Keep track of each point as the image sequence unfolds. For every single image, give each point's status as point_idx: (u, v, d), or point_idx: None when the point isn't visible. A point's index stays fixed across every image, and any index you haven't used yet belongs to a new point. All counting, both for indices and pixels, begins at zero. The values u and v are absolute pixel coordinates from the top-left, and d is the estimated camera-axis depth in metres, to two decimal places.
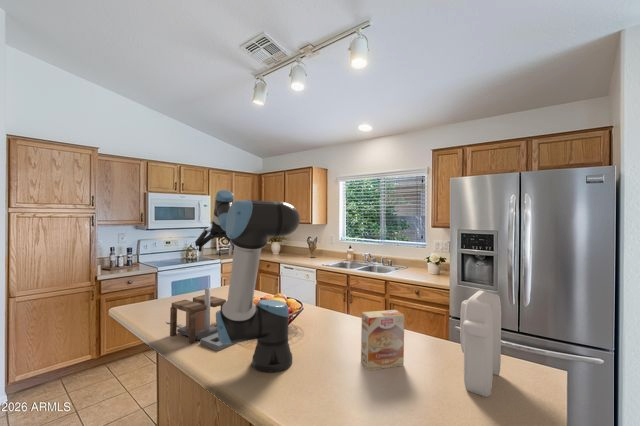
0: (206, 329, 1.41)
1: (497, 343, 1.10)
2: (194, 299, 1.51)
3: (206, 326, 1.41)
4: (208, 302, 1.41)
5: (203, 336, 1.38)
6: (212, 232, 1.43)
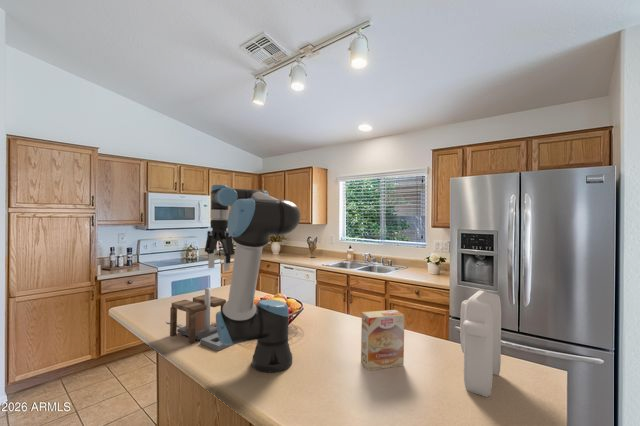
0: (206, 329, 1.41)
1: (497, 343, 1.10)
2: (194, 299, 1.51)
3: (206, 326, 1.41)
4: (208, 302, 1.41)
5: (203, 336, 1.38)
6: (212, 232, 1.39)
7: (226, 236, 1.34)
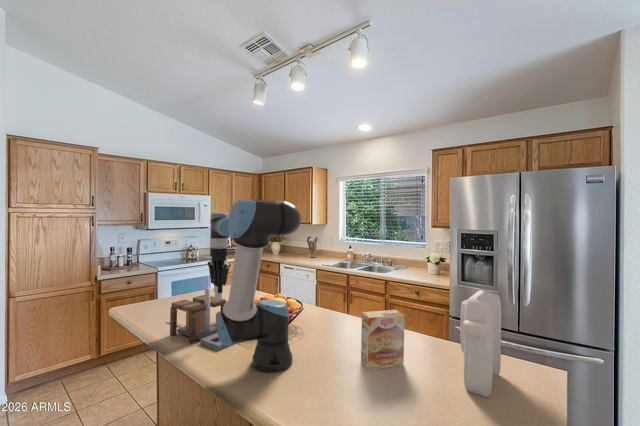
0: (206, 329, 1.41)
1: (497, 343, 1.10)
2: (194, 299, 1.51)
3: (206, 326, 1.41)
4: (208, 302, 1.41)
5: (203, 336, 1.38)
6: (212, 260, 1.39)
7: (224, 268, 1.34)
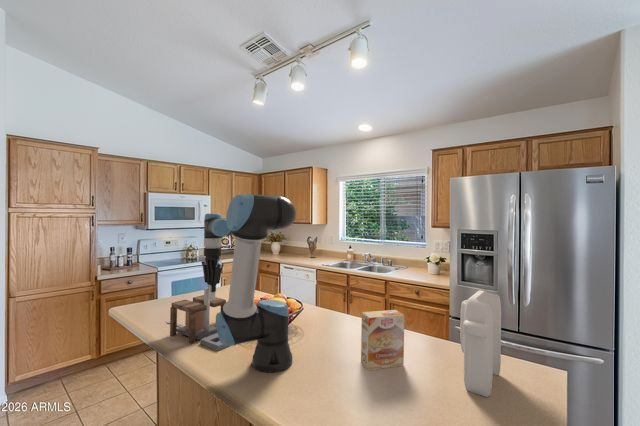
0: (205, 329, 1.41)
1: (497, 343, 1.10)
2: (194, 299, 1.51)
3: (205, 326, 1.41)
4: (207, 302, 1.41)
5: (202, 336, 1.38)
6: (205, 259, 1.41)
7: (217, 267, 1.37)
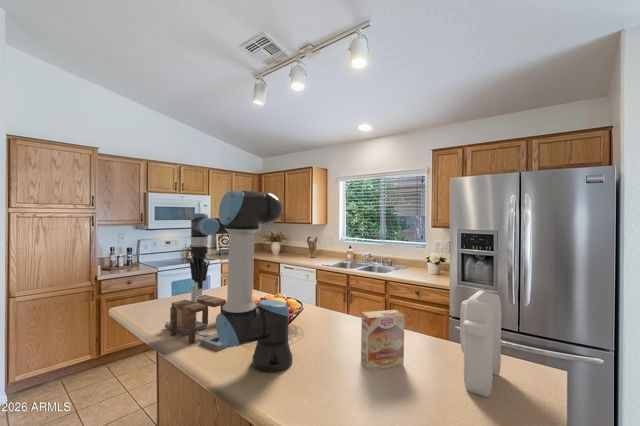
0: None
1: (497, 343, 1.10)
2: None
3: None
4: (194, 298, 1.47)
5: None
6: (193, 257, 1.47)
7: (203, 265, 1.42)
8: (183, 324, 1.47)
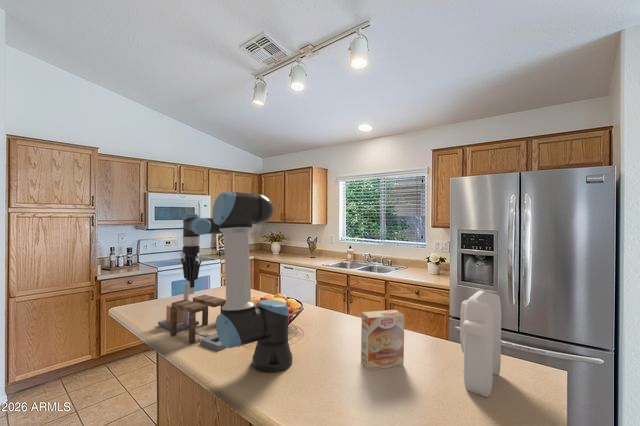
0: (185, 322, 1.50)
1: (497, 343, 1.10)
2: (194, 299, 1.51)
3: (185, 319, 1.50)
4: (187, 296, 1.50)
5: (181, 328, 1.47)
6: (185, 257, 1.50)
7: (195, 264, 1.46)
8: None
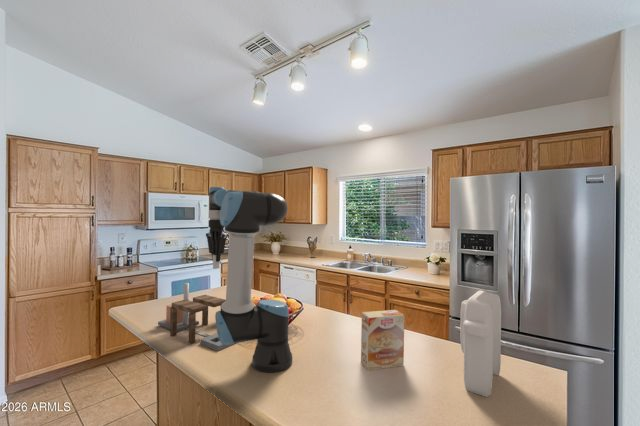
0: (185, 322, 1.50)
1: (497, 343, 1.10)
2: (194, 299, 1.51)
3: (185, 319, 1.50)
4: (187, 296, 1.50)
5: (181, 328, 1.47)
6: (210, 231, 1.49)
7: (222, 237, 1.44)
8: None
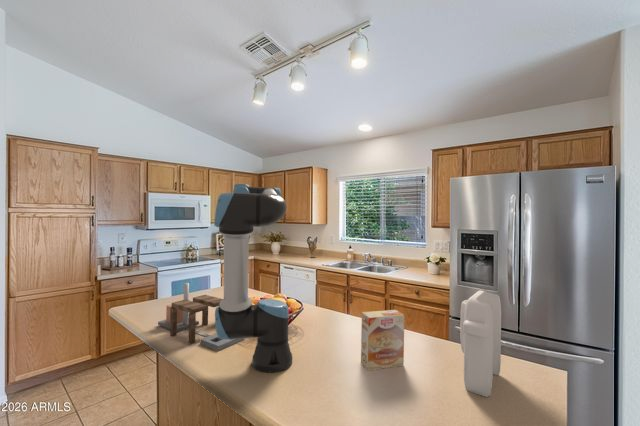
0: (185, 322, 1.50)
1: (497, 343, 1.10)
2: (194, 299, 1.51)
3: (185, 319, 1.50)
4: (187, 296, 1.50)
5: (181, 328, 1.47)
6: None
7: None
8: None
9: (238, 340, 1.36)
